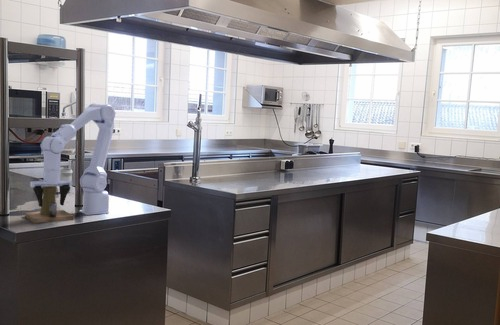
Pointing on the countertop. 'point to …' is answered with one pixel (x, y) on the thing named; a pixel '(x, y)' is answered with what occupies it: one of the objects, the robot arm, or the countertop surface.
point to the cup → (66, 175)
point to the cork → (47, 199)
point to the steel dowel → (53, 209)
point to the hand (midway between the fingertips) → (51, 205)
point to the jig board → (39, 218)
